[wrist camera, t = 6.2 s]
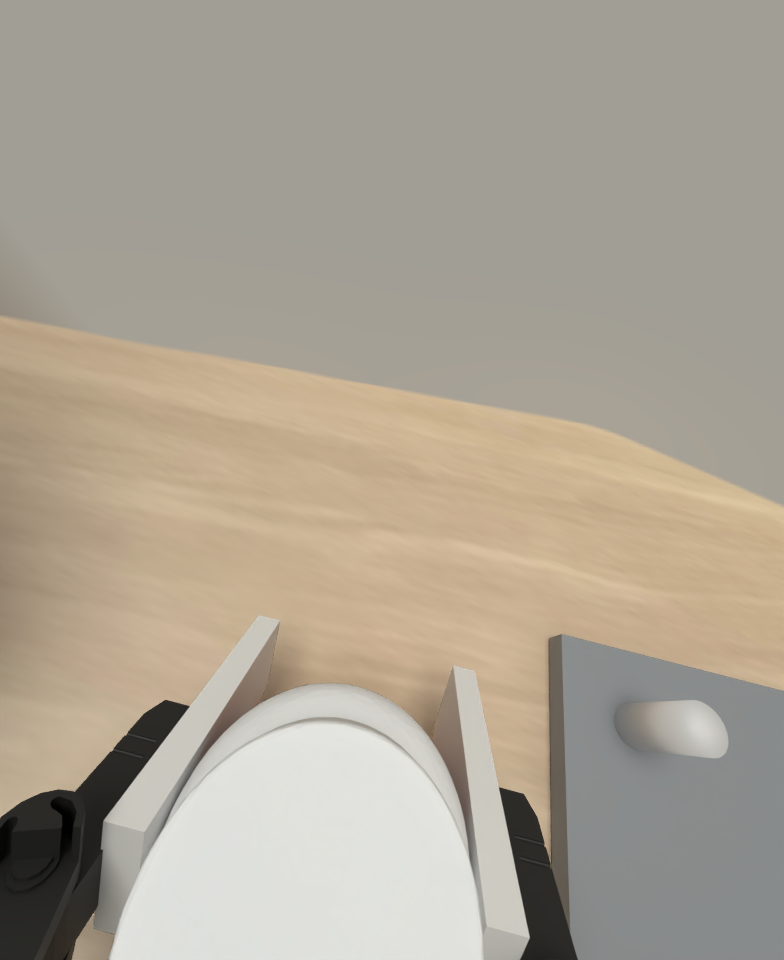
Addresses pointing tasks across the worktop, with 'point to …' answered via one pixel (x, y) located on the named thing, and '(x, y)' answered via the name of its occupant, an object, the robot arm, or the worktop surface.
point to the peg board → (665, 807)
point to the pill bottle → (310, 843)
